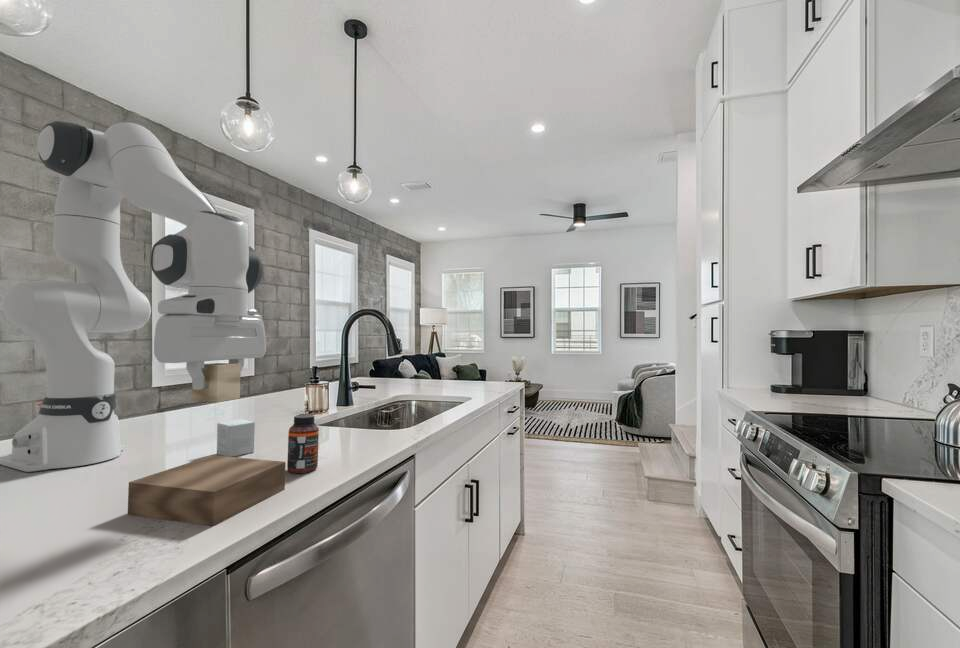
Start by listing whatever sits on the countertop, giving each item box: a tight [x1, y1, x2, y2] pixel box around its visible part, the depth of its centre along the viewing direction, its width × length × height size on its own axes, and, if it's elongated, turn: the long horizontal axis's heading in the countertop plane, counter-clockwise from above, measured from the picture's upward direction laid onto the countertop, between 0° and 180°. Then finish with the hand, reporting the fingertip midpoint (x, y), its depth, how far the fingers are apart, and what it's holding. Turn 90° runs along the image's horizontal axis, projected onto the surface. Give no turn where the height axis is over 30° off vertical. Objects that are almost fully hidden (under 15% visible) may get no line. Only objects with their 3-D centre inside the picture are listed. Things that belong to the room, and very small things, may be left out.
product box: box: [216, 418, 256, 457], centre depth 104 cm, size 6×6×7 cm
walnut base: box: [127, 454, 286, 527], centre depth 74 cm, size 16×16×5 cm
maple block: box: [191, 362, 242, 403], centre depth 75 cm, size 5×5×6 cm
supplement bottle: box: [286, 413, 320, 474], centre depth 92 cm, size 6×6×11 cm
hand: (216, 387), depth 75 cm, fingers closed on maple block, 5 cm apart
